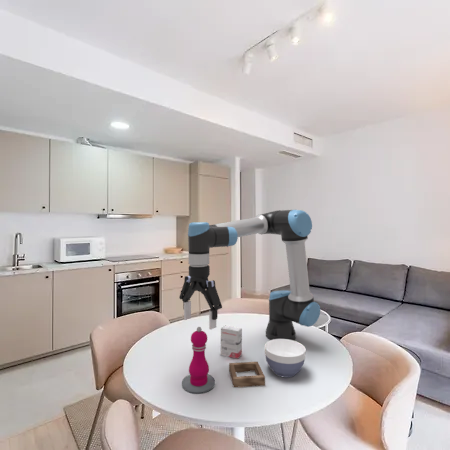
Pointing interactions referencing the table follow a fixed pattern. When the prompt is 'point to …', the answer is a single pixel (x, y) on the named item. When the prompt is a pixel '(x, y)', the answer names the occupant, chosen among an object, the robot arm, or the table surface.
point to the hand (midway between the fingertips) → (199, 323)
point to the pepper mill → (198, 359)
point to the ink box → (231, 341)
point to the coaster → (198, 389)
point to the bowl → (285, 356)
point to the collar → (246, 380)
